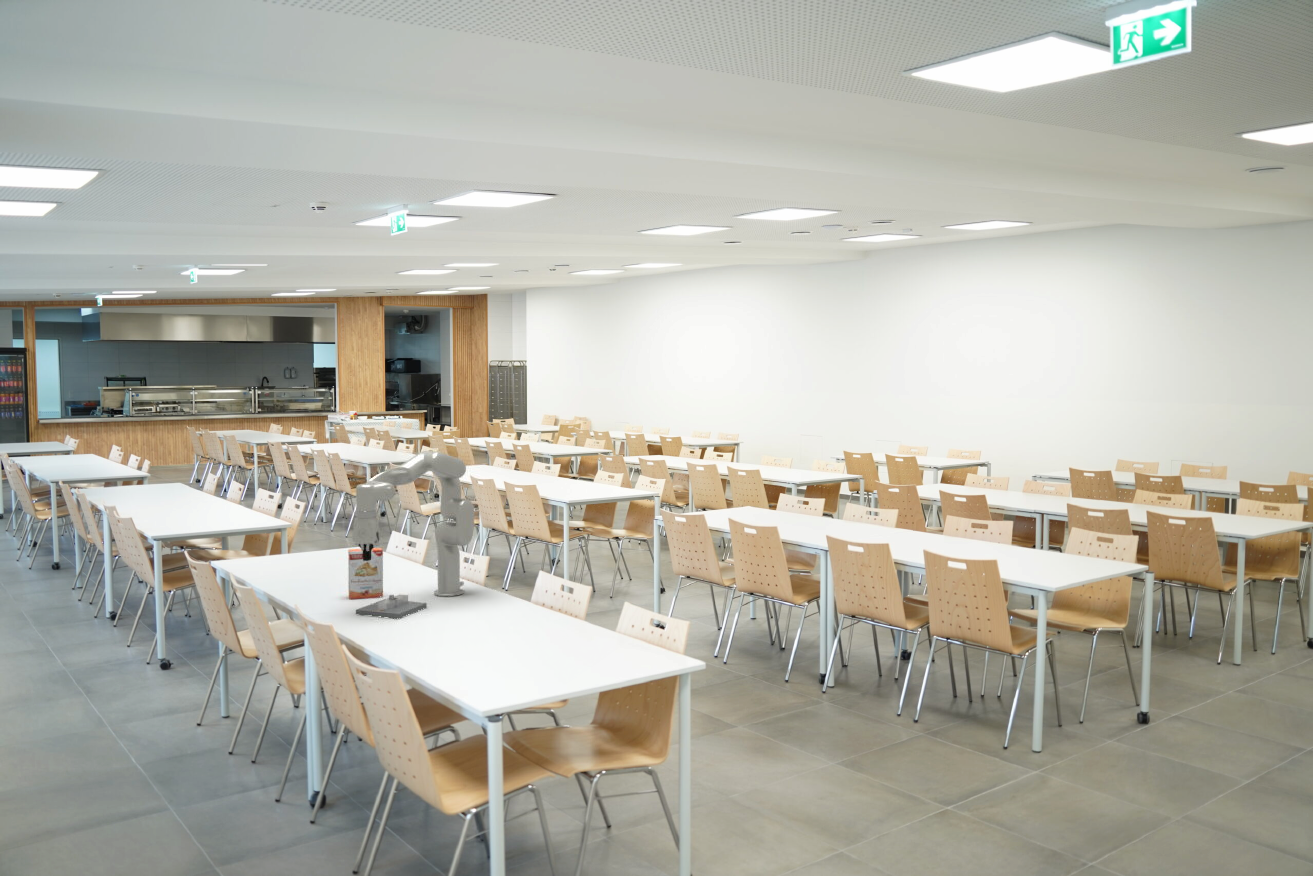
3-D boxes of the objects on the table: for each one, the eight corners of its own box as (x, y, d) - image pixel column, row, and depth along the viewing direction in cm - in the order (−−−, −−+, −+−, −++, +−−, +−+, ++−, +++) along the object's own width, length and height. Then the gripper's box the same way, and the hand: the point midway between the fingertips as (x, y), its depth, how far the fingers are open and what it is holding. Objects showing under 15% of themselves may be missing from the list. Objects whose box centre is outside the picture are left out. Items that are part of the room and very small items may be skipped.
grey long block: (376, 610, 392) (376, 602, 392) (398, 601, 408) (398, 594, 408) (387, 611, 391) (387, 603, 391) (409, 602, 406) (409, 595, 406)
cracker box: (349, 599, 419) (349, 551, 418) (348, 596, 424) (347, 548, 423) (383, 597, 424) (383, 549, 423) (381, 594, 430) (381, 547, 428)
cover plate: (384, 603, 412) (384, 588, 411) (426, 607, 405) (426, 592, 405) (355, 614, 393) (355, 598, 393) (398, 619, 387) (398, 602, 386)
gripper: (344, 515, 392) (345, 560, 393) (376, 517, 387) (377, 563, 388) (356, 512, 399) (357, 557, 400) (387, 514, 394) (388, 559, 395)
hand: (367, 560), depth 394 cm, fingers closed
